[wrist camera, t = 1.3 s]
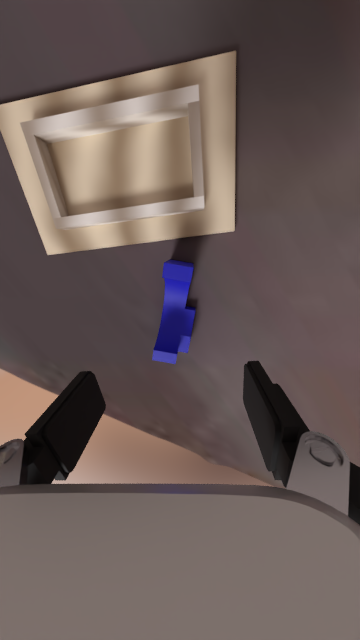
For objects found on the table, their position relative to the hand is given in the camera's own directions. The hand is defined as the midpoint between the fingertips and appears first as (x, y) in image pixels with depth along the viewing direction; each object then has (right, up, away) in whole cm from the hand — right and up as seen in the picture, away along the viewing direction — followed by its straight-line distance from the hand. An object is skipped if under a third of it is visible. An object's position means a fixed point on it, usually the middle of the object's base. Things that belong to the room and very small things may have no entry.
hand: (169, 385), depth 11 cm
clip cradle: (-6, +20, +9) cm, 23 cm away
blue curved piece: (+1, +6, +15) cm, 16 cm away
